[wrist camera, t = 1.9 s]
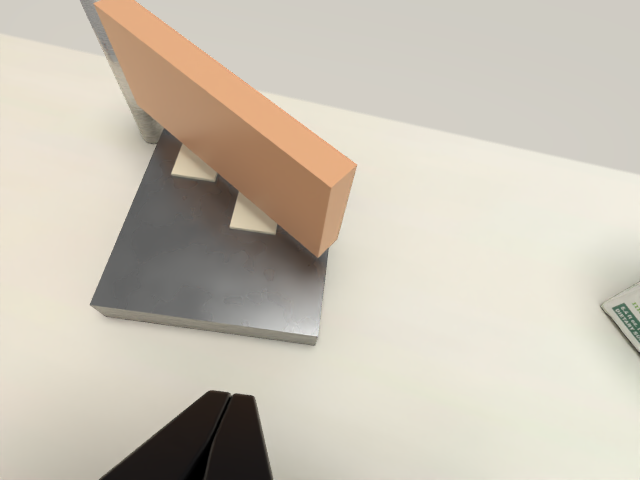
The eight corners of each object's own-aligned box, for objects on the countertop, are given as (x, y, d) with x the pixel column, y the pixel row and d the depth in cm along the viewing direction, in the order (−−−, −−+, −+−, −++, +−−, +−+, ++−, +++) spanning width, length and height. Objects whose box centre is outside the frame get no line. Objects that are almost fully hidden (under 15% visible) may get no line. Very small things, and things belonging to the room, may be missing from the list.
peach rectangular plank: (317, 258, 19) (331, 188, 14) (137, 104, 23) (93, 3, 18) (337, 239, 20) (357, 164, 14) (158, 92, 23) (121, -10, 18)
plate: (315, 345, 21) (338, 275, 12) (63, 310, 21) (-98, 214, 12) (338, 153, 28) (364, 17, 19) (147, 124, 27) (82, -27, 18)
